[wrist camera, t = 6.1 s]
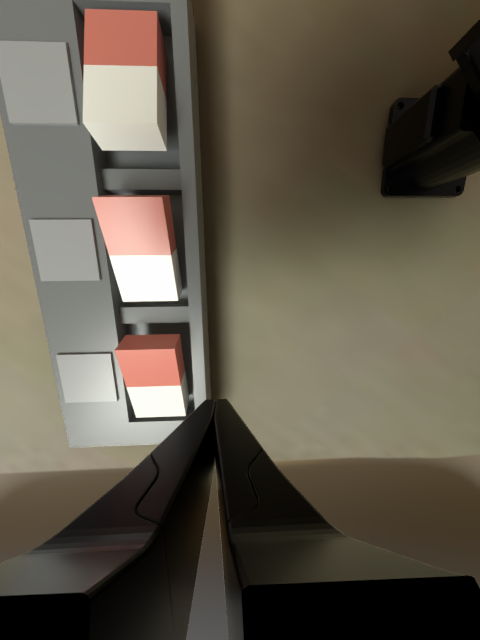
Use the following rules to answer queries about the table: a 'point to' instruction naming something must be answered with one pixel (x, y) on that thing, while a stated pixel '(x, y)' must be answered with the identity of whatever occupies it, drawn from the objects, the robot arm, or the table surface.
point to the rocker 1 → (125, 80)
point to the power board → (81, 219)
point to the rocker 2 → (141, 245)
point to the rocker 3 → (154, 374)
